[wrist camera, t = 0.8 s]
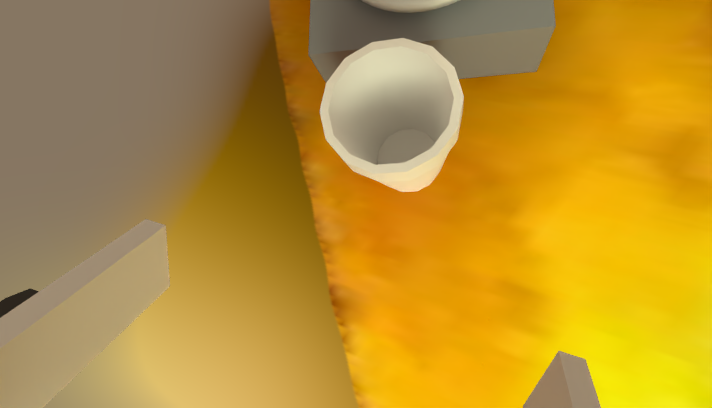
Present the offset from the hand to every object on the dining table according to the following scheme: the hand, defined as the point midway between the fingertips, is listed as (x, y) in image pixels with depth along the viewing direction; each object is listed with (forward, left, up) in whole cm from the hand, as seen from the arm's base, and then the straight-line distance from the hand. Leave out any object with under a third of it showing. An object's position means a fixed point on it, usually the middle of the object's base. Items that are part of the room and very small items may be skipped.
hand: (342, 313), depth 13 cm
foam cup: (0, -12, -24) cm, 27 cm away
